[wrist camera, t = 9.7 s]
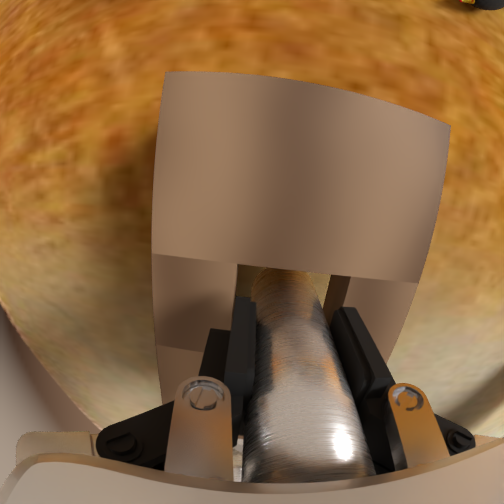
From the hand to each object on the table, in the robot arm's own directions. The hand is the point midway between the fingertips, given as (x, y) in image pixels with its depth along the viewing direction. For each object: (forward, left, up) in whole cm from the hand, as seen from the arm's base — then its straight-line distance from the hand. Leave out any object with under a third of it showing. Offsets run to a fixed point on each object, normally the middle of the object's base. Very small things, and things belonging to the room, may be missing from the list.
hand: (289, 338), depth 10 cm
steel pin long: (0, 0, -4) cm, 4 cm away
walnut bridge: (0, 0, -9) cm, 9 cm away
